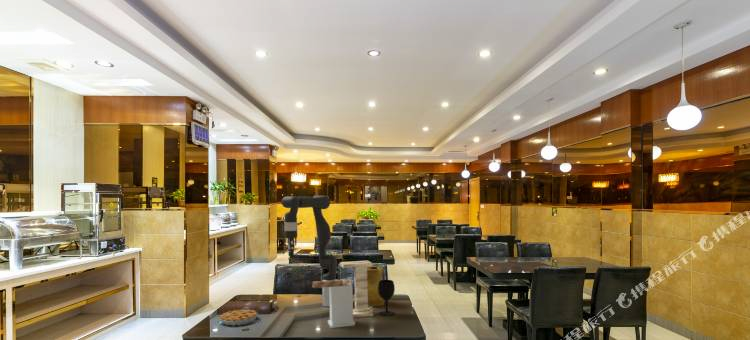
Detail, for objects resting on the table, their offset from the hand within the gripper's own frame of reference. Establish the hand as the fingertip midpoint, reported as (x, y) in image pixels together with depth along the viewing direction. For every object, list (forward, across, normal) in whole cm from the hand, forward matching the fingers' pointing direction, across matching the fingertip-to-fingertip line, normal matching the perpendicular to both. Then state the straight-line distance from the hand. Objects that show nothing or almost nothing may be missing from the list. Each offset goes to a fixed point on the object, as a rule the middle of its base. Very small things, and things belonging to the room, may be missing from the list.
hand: (291, 257), depth 245 cm
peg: (+16, -13, -22) cm, 30 cm away
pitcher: (+38, +22, -57) cm, 72 cm away
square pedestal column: (+38, +2, -40) cm, 55 cm away
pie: (+38, +15, +30) cm, 51 cm away
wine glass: (+38, -3, -58) cm, 70 cm away
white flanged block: (+38, -13, -27) cm, 48 cm away
